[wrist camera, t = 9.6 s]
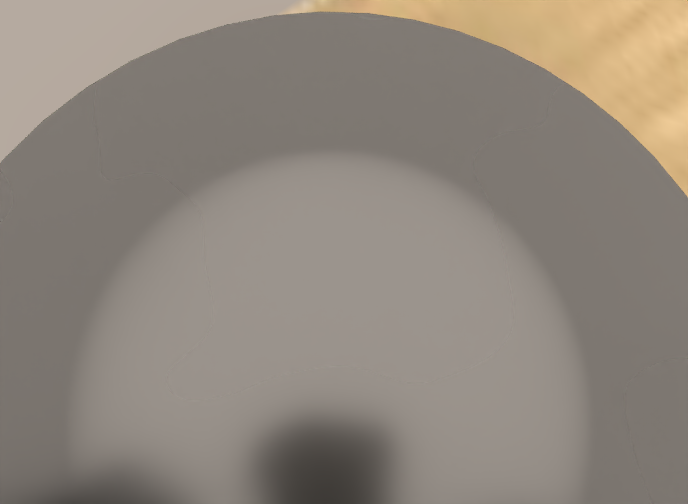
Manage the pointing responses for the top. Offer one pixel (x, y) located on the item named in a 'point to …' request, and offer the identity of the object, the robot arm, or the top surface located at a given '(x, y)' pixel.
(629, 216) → the canister
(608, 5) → the top surface
